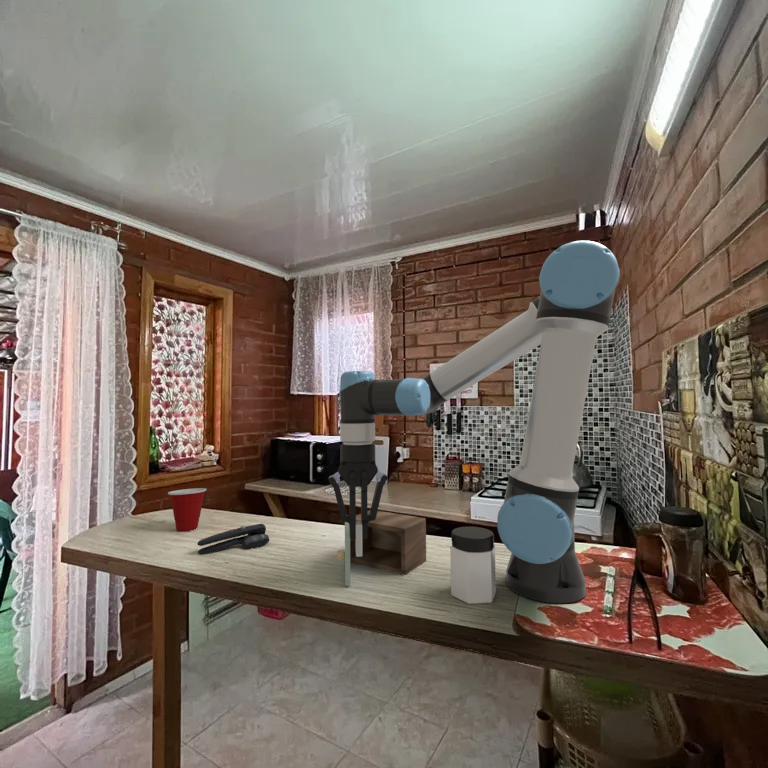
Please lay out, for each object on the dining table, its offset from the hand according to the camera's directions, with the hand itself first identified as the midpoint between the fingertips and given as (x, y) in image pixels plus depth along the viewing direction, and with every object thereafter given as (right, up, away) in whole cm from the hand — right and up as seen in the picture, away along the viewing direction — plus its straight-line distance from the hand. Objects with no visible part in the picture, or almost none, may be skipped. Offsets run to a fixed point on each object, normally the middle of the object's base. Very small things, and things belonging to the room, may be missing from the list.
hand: (358, 554), depth 89 cm
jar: (+23, -5, -7) cm, 25 cm away
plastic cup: (-55, -8, +38) cm, 67 cm away
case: (+6, -6, +11) cm, 14 cm away
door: (-4, -5, +3) cm, 7 cm away
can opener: (-34, -7, +21) cm, 41 cm away
